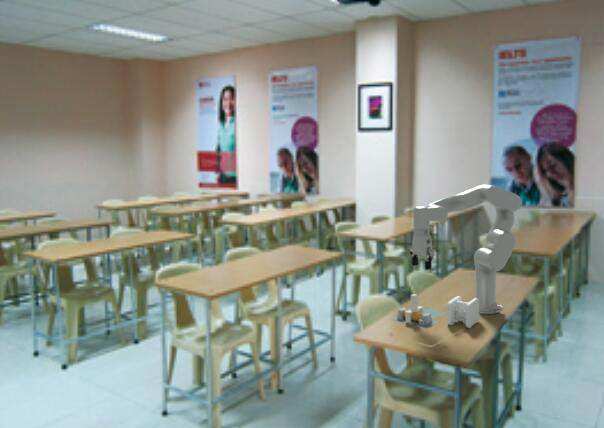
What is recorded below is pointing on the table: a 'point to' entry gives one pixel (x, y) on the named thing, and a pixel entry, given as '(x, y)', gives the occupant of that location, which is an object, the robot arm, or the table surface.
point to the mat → (431, 312)
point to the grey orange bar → (416, 315)
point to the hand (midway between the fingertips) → (421, 267)
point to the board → (415, 323)
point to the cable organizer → (462, 311)
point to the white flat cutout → (413, 308)
